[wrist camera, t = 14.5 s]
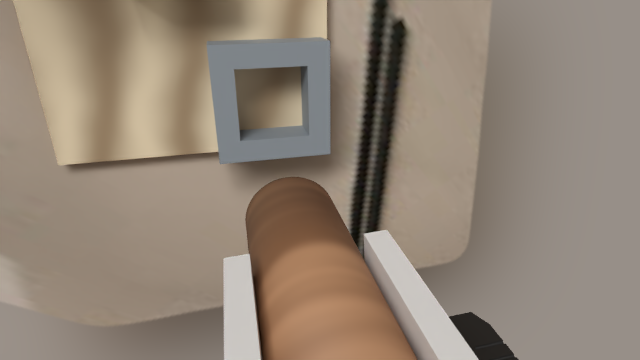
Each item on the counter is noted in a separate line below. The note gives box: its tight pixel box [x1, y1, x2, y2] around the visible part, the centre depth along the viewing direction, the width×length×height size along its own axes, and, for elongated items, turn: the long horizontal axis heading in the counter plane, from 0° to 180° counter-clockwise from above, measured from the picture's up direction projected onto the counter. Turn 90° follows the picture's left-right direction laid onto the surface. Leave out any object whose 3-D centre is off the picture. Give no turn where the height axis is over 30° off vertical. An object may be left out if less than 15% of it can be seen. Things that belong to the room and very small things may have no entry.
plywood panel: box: [13, 0, 327, 165], centre depth 33 cm, size 22×18×1 cm
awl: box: [246, 177, 418, 360], centre depth 11 cm, size 4×4×14 cm
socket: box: [207, 37, 330, 164], centre depth 34 cm, size 9×9×3 cm
